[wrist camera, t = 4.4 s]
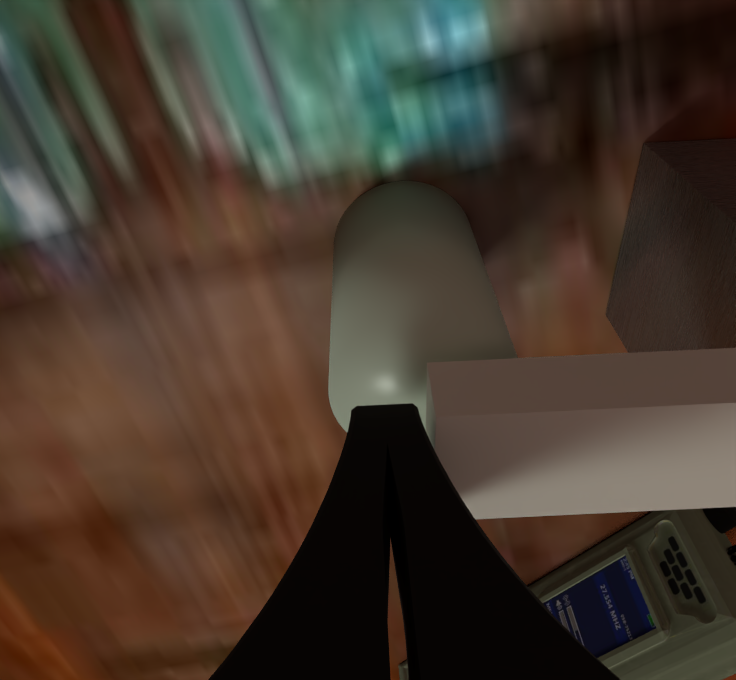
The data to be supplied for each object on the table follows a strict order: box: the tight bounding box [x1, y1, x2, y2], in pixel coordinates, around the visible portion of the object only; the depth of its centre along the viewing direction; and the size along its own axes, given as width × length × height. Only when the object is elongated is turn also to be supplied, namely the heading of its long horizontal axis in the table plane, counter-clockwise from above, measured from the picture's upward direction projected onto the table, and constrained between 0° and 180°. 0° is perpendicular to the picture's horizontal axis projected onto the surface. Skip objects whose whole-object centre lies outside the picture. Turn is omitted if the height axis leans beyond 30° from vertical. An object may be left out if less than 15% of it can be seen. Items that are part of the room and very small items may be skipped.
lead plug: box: [328, 181, 518, 432], centre depth 17 cm, size 4×4×7 cm
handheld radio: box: [399, 507, 736, 680], centre depth 28 cm, size 7×3×25 cm
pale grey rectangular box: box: [426, 348, 736, 519], centre depth 13 cm, size 12×3×2 cm, turn 92°
